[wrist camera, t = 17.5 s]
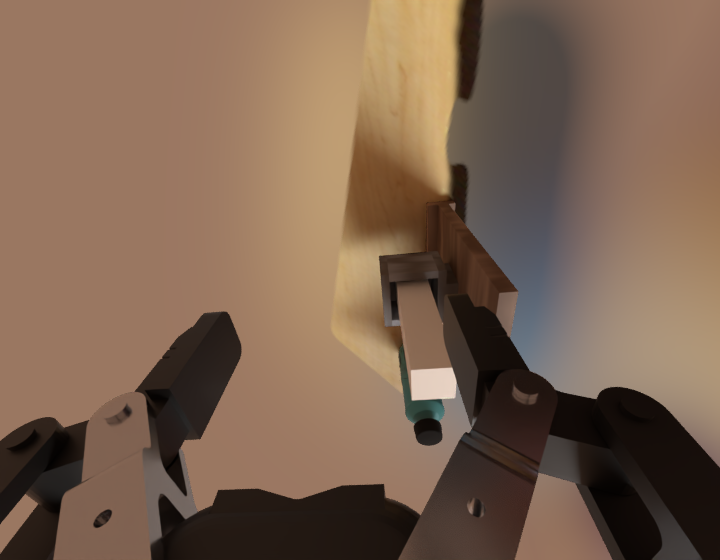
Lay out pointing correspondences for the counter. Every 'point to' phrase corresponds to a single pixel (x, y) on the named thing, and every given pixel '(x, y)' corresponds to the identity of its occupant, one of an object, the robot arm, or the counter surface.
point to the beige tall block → (424, 342)
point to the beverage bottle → (421, 410)
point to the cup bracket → (449, 269)
